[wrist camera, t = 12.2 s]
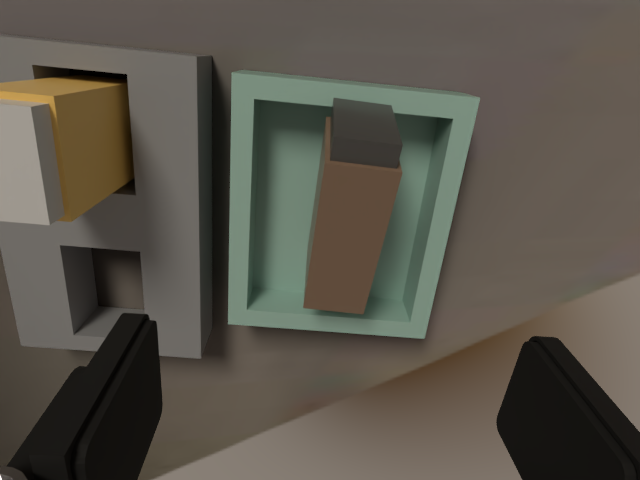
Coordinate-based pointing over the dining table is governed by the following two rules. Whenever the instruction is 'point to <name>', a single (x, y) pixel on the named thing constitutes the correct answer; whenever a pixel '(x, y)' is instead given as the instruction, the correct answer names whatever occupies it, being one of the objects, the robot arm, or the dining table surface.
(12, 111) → the block
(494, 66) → the dining table surface
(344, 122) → the block
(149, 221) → the block
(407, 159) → the parts tray
